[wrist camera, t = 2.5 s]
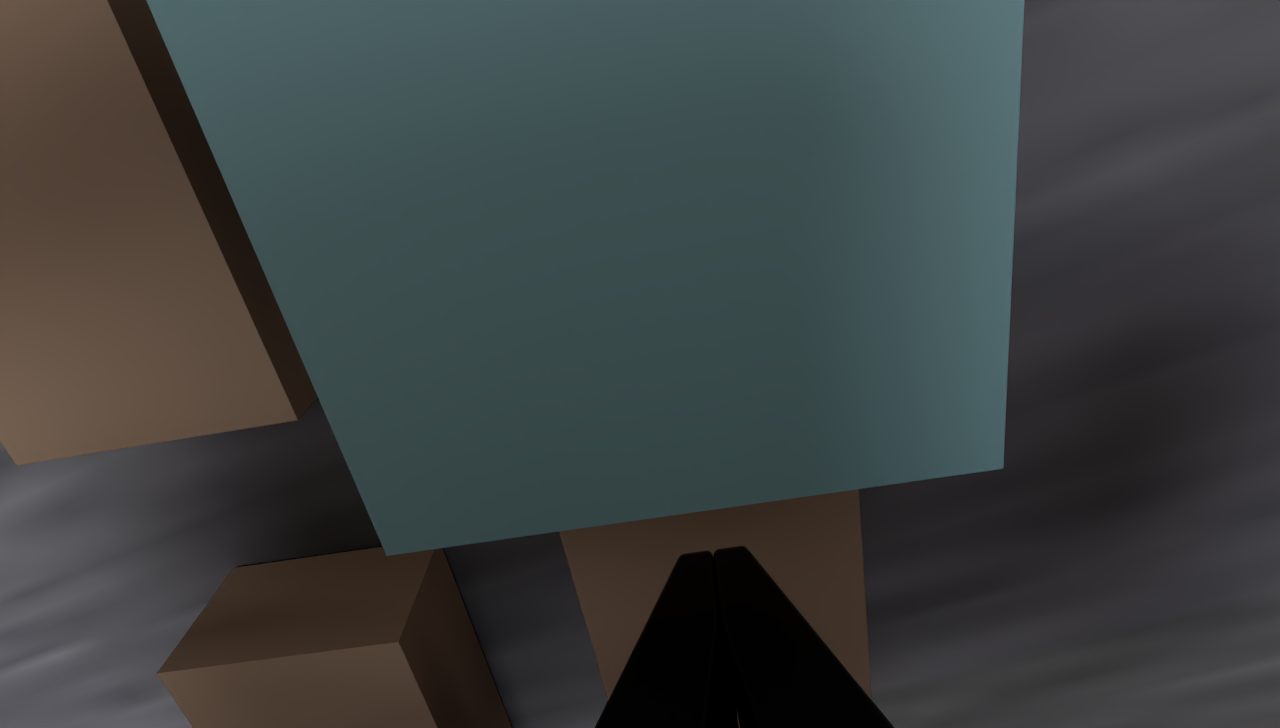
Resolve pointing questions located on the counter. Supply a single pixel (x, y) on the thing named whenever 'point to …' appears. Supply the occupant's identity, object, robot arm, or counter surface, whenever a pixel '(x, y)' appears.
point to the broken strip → (190, 376)
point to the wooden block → (773, 532)
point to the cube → (624, 243)
